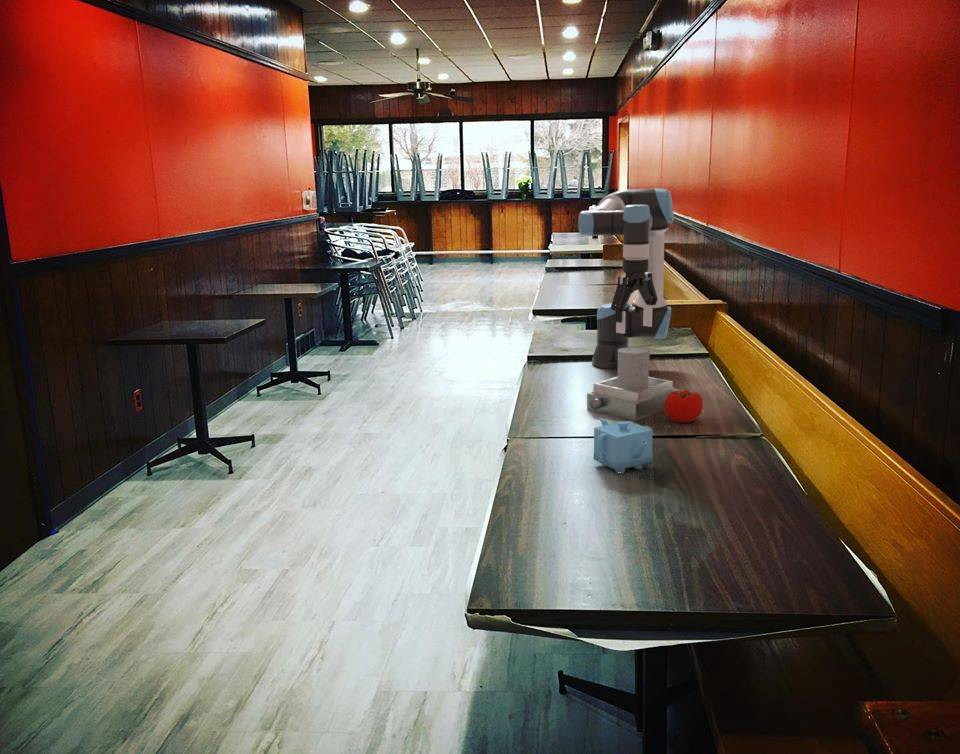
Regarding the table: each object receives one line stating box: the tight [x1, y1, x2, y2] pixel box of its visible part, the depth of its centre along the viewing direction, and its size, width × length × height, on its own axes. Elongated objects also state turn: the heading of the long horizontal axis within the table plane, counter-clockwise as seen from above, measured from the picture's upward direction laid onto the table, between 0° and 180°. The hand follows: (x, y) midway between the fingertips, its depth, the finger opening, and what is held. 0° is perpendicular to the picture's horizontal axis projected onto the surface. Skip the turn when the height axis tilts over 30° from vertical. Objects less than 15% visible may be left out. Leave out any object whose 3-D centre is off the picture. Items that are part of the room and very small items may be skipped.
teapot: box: [593, 417, 653, 474], centre depth 195 cm, size 16×18×11 cm
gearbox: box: [586, 375, 679, 421], centre depth 243 cm, size 25×18×8 cm
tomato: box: [664, 389, 704, 424], centre depth 229 cm, size 11×11×9 cm
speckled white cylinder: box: [617, 346, 651, 391], centre depth 242 cm, size 10×10×12 cm
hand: (634, 329), depth 239 cm, fingers open, 13 cm apart
